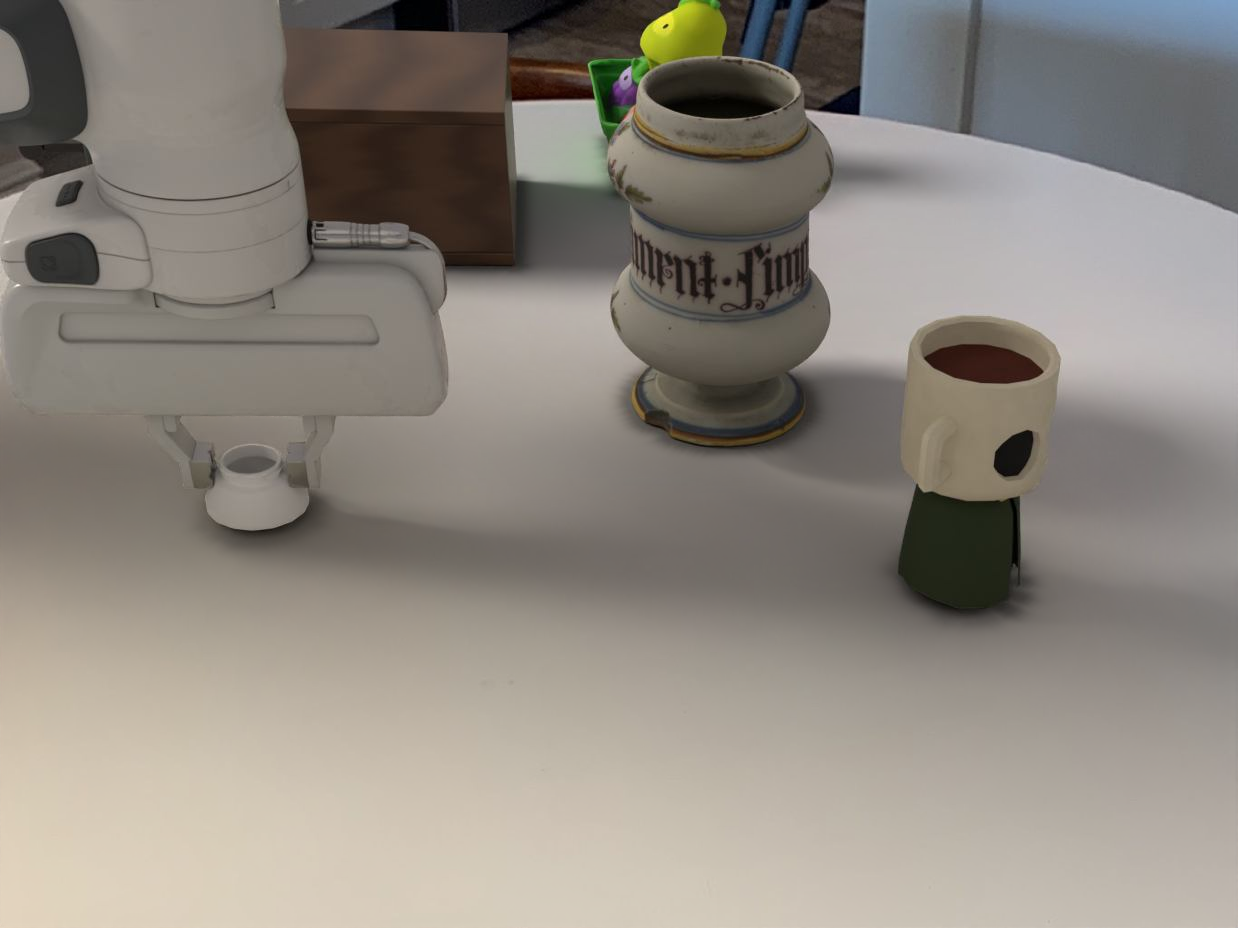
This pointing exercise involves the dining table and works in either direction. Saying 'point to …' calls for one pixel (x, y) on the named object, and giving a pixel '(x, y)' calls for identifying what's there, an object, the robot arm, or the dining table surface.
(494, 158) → the cabinet
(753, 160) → the apothecary jar
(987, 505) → the character mug
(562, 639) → the dining table surface
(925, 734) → the dining table surface
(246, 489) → the white jar
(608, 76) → the fruit basket
